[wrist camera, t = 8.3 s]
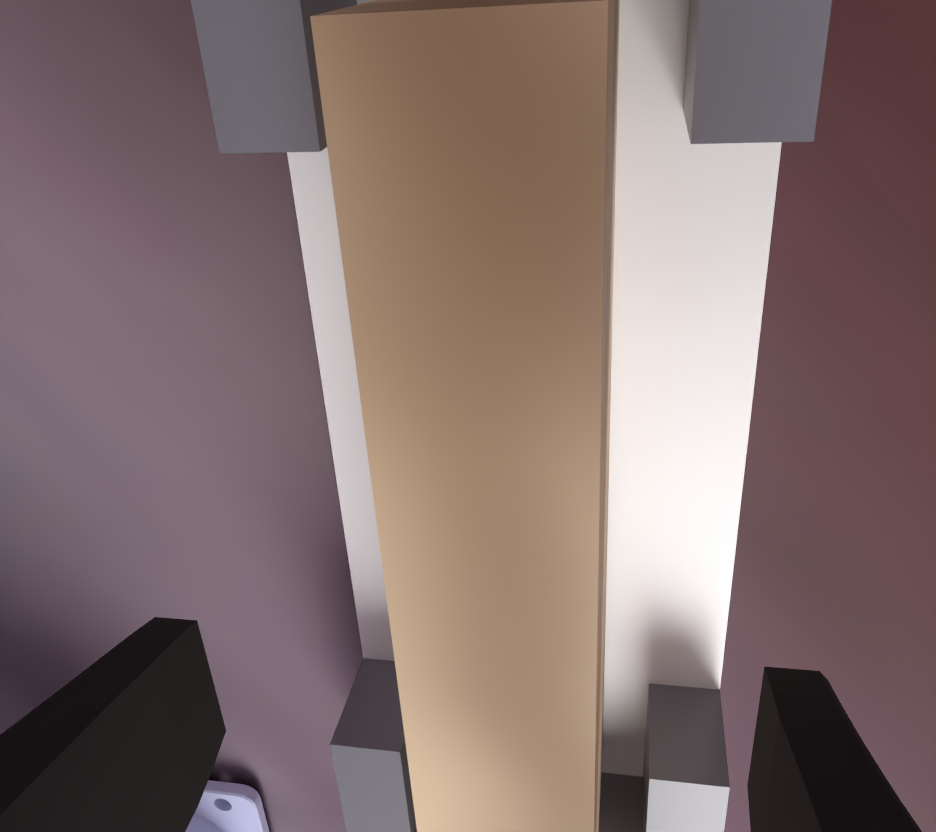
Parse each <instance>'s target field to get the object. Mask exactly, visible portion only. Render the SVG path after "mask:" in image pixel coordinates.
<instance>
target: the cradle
mask: <svg viewBox="0 0 936 832" xmlns="http://www.w3.org/2000/svg"><path fill="white" fill-rule="evenodd" d="M371 1H375V0H191V5H192V10H193V15H194V21H195V26H196V31H197V37H198V42H199V47H200V53H201V58H202V63H203V69H204V74H205V79H206V85H207V90H208V95H209V101H210V106H211V112H212V117H213V122H214V128H215V133H216V138H217V144H218V149H219V154H234V153H282V152H287V155H288V161H289V168H290V175H291V181H292V188H293V195H294V201H295V208H296V215H297V221H298V228H299V234H300V241H301V248H302V254H303V261H304V268H305V274H306V281H307V288H308V294H309V301H310V307H311V314H312V321H313V327H314V334H315V341H316V347H317V354H318V361H319V367H320V374H321V380H322V387H323V394H324V400H325V407H326V414H327V420H328V427H329V434H330V440H331V447H332V453H333V460H334V467H335V473H336V480H337V487H338V493H339V500H340V507H341V513H342V520H343V526H344V533H345V540H346V546H347V553H348V560H349V566H350V573H351V580H352V586H353V593H354V599H355V606H356V613H357V619H358V626H359V633H360V639H361V646H362V653H363V660H362V663H361V666H360V668H359V671H358V673H357V676H356V678H355V681H354V684H353V686H352V689H351V691H350V694H349V697H348V699H347V702H346V704H345V707H344V709H343V712H342V715H341V717H340V720H339V722H338V725H337V727H336V730H335V733H334V735H333V738H332V740H331V743H330V748H331V753H332V759H333V764H334V769H335V775H336V780H337V785H338V791H339V796H340V801H341V807H342V812H343V817H344V823H345V828H346V832H417V827H416V820H415V812H414V805H413V797H412V789H411V782H410V774H409V766H408V759H407V751H406V744H405V736H404V728H403V721H402V713H401V705H400V698H399V690H398V683H397V675H396V667H395V660H394V652H393V644H392V637H391V629H390V622H389V614H388V606H387V599H386V591H385V583H384V576H383V568H382V561H381V553H380V545H379V538H378V530H377V522H376V515H375V507H374V500H373V492H372V484H371V477H370V469H369V461H368V454H367V446H366V439H365V431H364V423H363V416H362V408H361V401H360V393H359V385H358V378H357V370H356V362H355V355H354V347H353V340H352V332H351V324H350V317H349V309H348V301H347V294H346V286H345V279H344V271H343V263H342V256H341V248H340V240H339V233H338V225H337V218H336V210H335V202H334V195H333V187H332V179H331V172H330V164H329V157H328V149H327V141H326V134H325V126H324V118H323V111H322V103H321V96H320V88H319V80H318V73H317V65H316V57H315V50H314V42H313V35H312V27H311V19H310V16H312V15H317V14H321V13H325V12H329V11H333V10H337V9H342V8H346V7H350V6H354V5H358V4H362V3H367V2H371ZM831 4H832V0H620V7H619V51H618V95H617V138H616V182H615V226H614V270H613V314H612V358H611V402H610V446H609V490H608V534H607V578H606V621H605V665H604V709H603V750H602V770H601V790H600V810H599V830H598V832H724V827H725V819H726V812H727V804H728V796H729V789H730V786H729V776H728V767H727V757H726V747H725V737H724V727H723V717H722V708H721V698H720V682H721V674H722V665H723V656H724V647H725V638H726V629H727V621H728V612H729V603H730V594H731V585H732V576H733V567H734V559H735V550H736V541H737V532H738V523H739V514H740V506H741V497H742V488H743V479H744V470H745V461H746V452H747V444H748V435H749V426H750V417H751V408H752V399H753V391H754V382H755V373H756V364H757V355H758V346H759V337H760V329H761V320H762V311H763V302H764V293H765V284H766V276H767V267H768V258H769V249H770V240H771V231H772V223H773V214H774V205H775V196H776V187H777V178H778V169H779V161H780V152H781V143H782V142H814V135H815V127H816V120H817V112H818V104H819V97H820V89H821V81H822V74H823V66H824V58H825V51H826V43H827V35H828V27H829V20H830V12H831Z"/></svg>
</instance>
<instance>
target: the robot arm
mask: <svg viewBox="0 0 936 832" xmlns="http://www.w3.org/2000/svg"><path fill="white" fill-rule="evenodd" d="M225 732H226V729H225V725H224V721H223V718H222V714H221V710H220V706H219V702H218V699H217V695H216V691H215V687H214V683H213V680H212V676H211V672H210V668H209V664H208V660H207V657H206V653H205V649H204V645H203V641H202V638H201V634H200V630H199V626H198V622H197V621H195V620H183V619H170V618H158V617H155V618H153V619H152V620H150V621H149V622H148V623H146V624H145V625H144V626H142V627H141V628H139V629H138V630H137V631H135V632H134V633H133V634H131V635H130V636H129V637H127V638H126V639H125V640H123V641H122V642H121V643H119V644H118V645H117V646H116V647H114V648H113V649H112V650H110V651H109V652H108V653H107V654H105V655H104V656H103V657H101V658H100V659H99V660H98V661H96V662H95V663H94V664H92V665H91V666H90V667H89V668H87V669H86V670H85V671H83V672H82V673H81V674H80V675H78V676H77V677H76V678H74V679H73V680H72V681H71V682H69V683H68V684H67V685H65V686H64V687H63V688H61V689H60V690H59V691H57V692H56V693H55V694H54V695H52V696H51V697H50V698H48V699H47V700H46V701H44V702H43V703H42V704H40V705H39V706H38V707H37V708H35V709H34V710H33V711H31V712H30V713H29V714H27V715H26V716H25V717H23V718H22V719H21V720H19V721H18V722H17V723H16V724H14V725H13V726H12V727H10V728H9V729H8V730H6V731H5V732H4V733H2V734H1V735H0V832H269V829H268V825H267V821H266V817H265V813H264V809H263V805H262V801H261V798H260V796H259V794H258V792H257V791H256V790H255V789H254V788H252V787H250V786H248V785H244V784H237V783H229V782H220V781H212V780H208V779H209V777H210V774H211V772H212V769H213V766H214V763H215V760H216V758H217V755H218V752H219V749H220V746H221V743H222V741H223V738H224V735H225ZM748 798H749V812H750V826H751V832H922V831H921V830H920V828H919V827H918V825H917V824H916V823H915V821H914V820H913V818H912V817H911V815H910V814H909V812H908V811H907V809H906V808H905V806H904V805H903V804H902V802H901V801H900V799H899V798H898V796H897V795H896V793H895V791H894V790H893V788H892V787H891V785H890V784H889V782H888V781H887V779H886V778H885V776H884V775H883V773H882V771H881V770H880V768H879V767H878V765H877V763H876V762H875V760H874V759H873V757H872V755H871V754H870V752H869V751H868V749H867V747H866V746H865V744H864V742H863V741H862V739H861V737H860V736H859V734H858V732H857V731H856V729H855V727H854V726H853V724H852V722H851V721H850V719H849V717H848V715H847V714H846V712H845V710H844V708H843V707H842V705H841V703H840V701H839V700H838V698H837V696H836V694H835V692H834V691H833V689H832V687H831V685H830V683H829V681H828V680H827V679H826V678H825V677H824V675H823V674H822V673H821V672H820V671H811V670H798V669H786V668H774V667H764V674H763V681H762V688H761V695H760V702H759V709H758V716H757V723H756V730H755V737H754V744H753V751H752V758H751V765H750V772H749V779H748Z"/></svg>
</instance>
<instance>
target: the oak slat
mask: <svg viewBox="0 0 936 832" xmlns="http://www.w3.org/2000/svg"><path fill="white" fill-rule="evenodd" d="M619 7H620V0H375V1H371V2H367V3H362V4H358V5H354V6H350V7H346V8H342V9H337V10H333V11H329V12H325V13H321V14H317V15H312V16H310V19H311V27H312V35H313V42H314V50H315V57H316V65H317V73H318V80H319V88H320V96H321V103H322V111H323V118H324V126H325V134H326V141H327V149H328V157H329V164H330V172H331V179H332V187H333V195H334V202H335V210H336V218H337V225H338V233H339V240H340V248H341V256H342V263H343V271H344V279H345V286H346V294H347V301H348V309H349V317H350V324H351V332H352V340H353V347H354V355H355V362H356V370H357V378H358V385H359V393H360V401H361V408H362V416H363V423H364V431H365V439H366V446H367V454H368V461H369V469H370V477H371V484H372V492H373V500H374V507H375V515H376V522H377V530H378V538H379V545H380V553H381V561H382V568H383V576H384V583H385V591H386V599H387V606H388V614H389V622H390V629H391V637H392V644H393V652H394V660H395V667H396V675H397V683H398V690H399V698H400V705H401V713H402V721H403V728H404V736H405V744H406V751H407V759H408V766H409V774H410V782H411V789H412V797H413V805H414V812H415V820H416V827H417V832H598V830H599V810H600V790H601V770H602V750H603V709H604V665H605V621H606V578H607V534H608V490H609V446H610V402H611V358H612V314H613V270H614V226H615V182H616V138H617V95H618V51H619Z"/></svg>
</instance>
